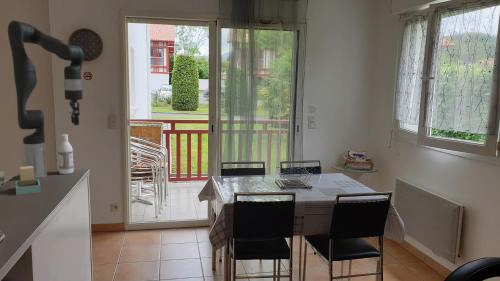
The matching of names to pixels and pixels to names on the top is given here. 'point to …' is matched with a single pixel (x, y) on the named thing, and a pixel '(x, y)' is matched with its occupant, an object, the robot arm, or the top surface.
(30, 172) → the light box
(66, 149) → the bath foam
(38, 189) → the tote
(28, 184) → the block
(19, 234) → the top surface
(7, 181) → the top surface
